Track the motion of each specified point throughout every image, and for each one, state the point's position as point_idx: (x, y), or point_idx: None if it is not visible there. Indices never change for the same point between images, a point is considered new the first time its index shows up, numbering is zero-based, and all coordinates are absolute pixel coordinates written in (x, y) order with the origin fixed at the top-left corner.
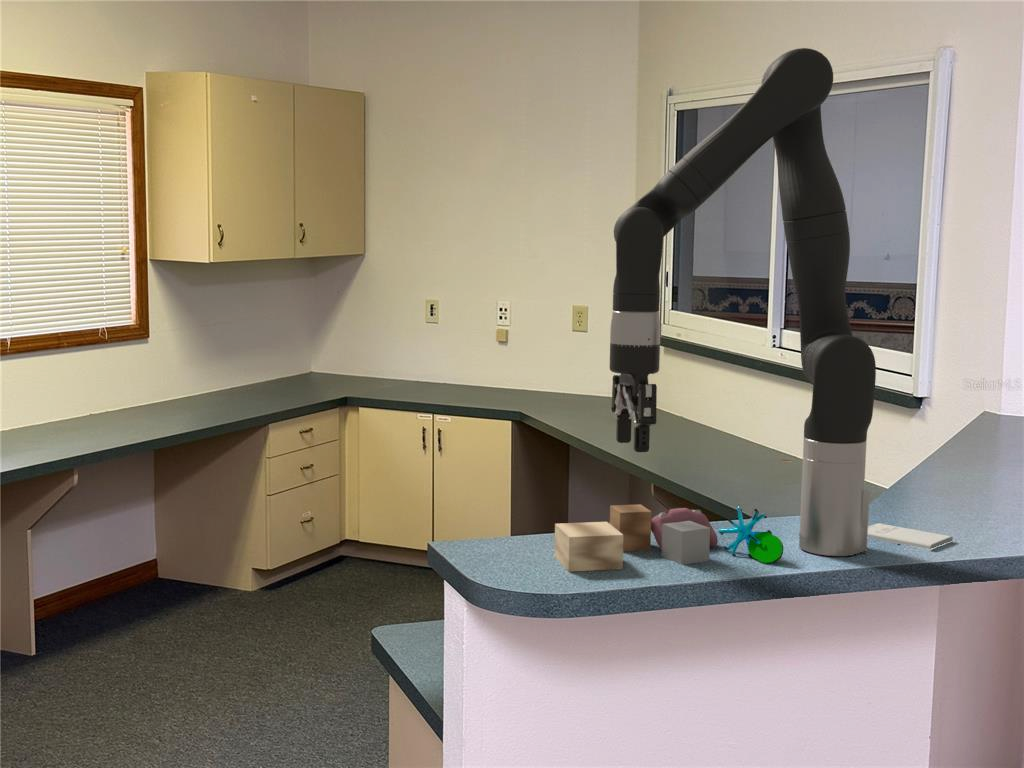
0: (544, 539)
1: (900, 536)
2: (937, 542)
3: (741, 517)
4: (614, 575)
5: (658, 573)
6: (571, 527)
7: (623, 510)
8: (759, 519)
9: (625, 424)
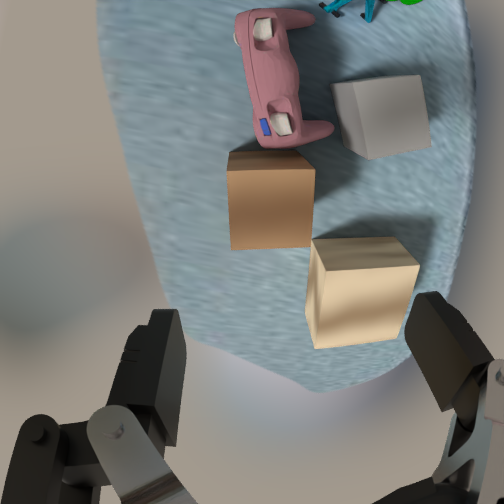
0: (199, 309)
1: None
2: None
3: None
4: (413, 254)
5: (427, 191)
6: (346, 331)
7: (289, 233)
8: None
9: (168, 400)
